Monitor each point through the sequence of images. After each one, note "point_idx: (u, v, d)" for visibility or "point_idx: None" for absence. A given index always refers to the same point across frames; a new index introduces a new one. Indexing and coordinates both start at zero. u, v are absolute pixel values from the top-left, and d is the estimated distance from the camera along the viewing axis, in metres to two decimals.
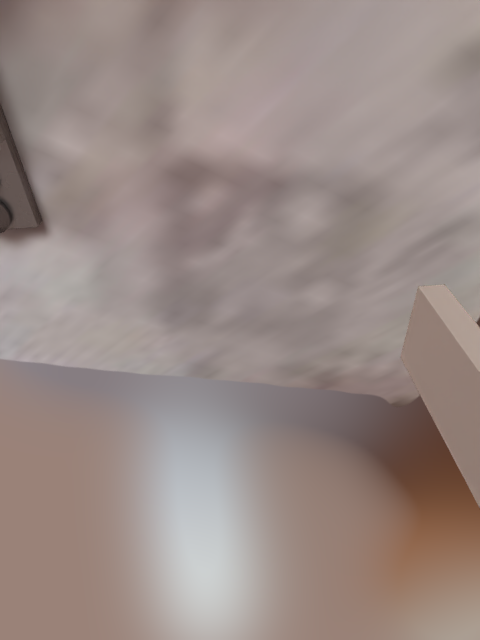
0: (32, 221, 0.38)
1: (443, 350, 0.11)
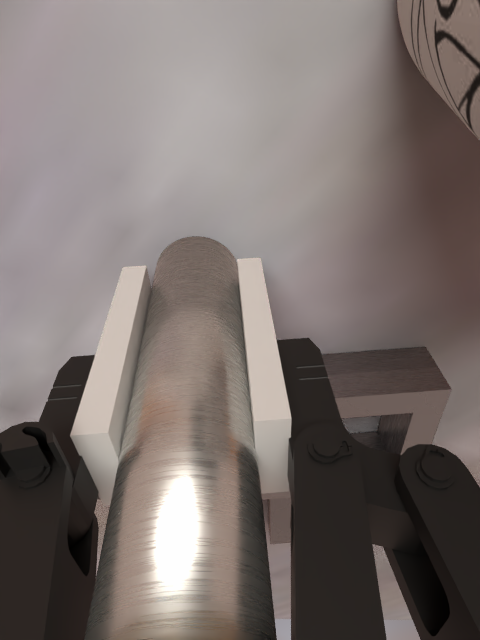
0: None
1: None
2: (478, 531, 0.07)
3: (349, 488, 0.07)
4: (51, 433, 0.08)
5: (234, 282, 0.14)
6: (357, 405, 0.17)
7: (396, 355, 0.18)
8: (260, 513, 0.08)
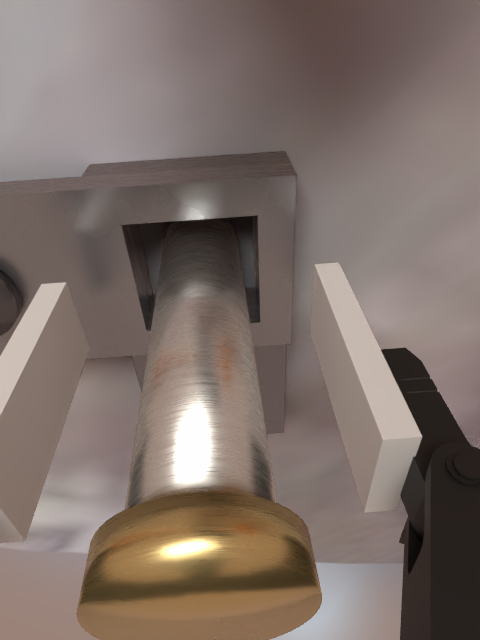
0: (278, 426, 0.23)
1: (327, 319, 0.12)
2: None
3: None
4: None
5: (235, 249, 0.15)
6: (182, 198, 0.13)
7: (246, 157, 0.15)
8: (262, 417, 0.10)
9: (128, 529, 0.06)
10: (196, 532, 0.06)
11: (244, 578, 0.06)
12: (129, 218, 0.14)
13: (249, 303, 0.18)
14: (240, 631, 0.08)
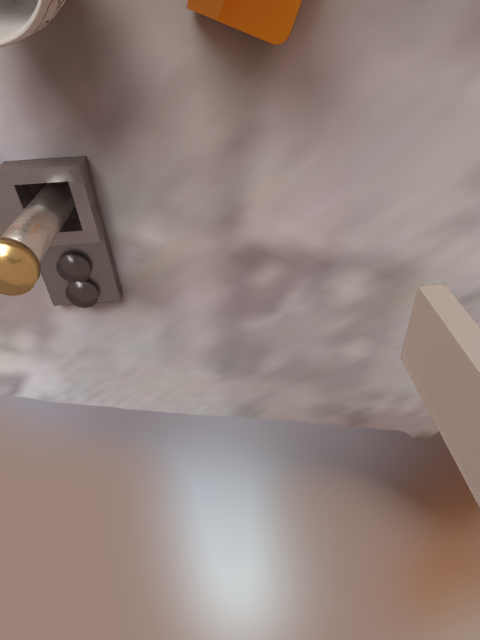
0: (116, 296, 0.44)
1: (443, 350, 0.11)
2: None
3: None
4: None
5: (65, 196, 0.37)
6: (36, 174, 0.35)
7: (67, 158, 0.36)
8: (40, 238, 0.31)
9: None
10: None
11: (8, 253, 0.28)
12: (16, 182, 0.35)
13: None
14: (19, 283, 0.29)
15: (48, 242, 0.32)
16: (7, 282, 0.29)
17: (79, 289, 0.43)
